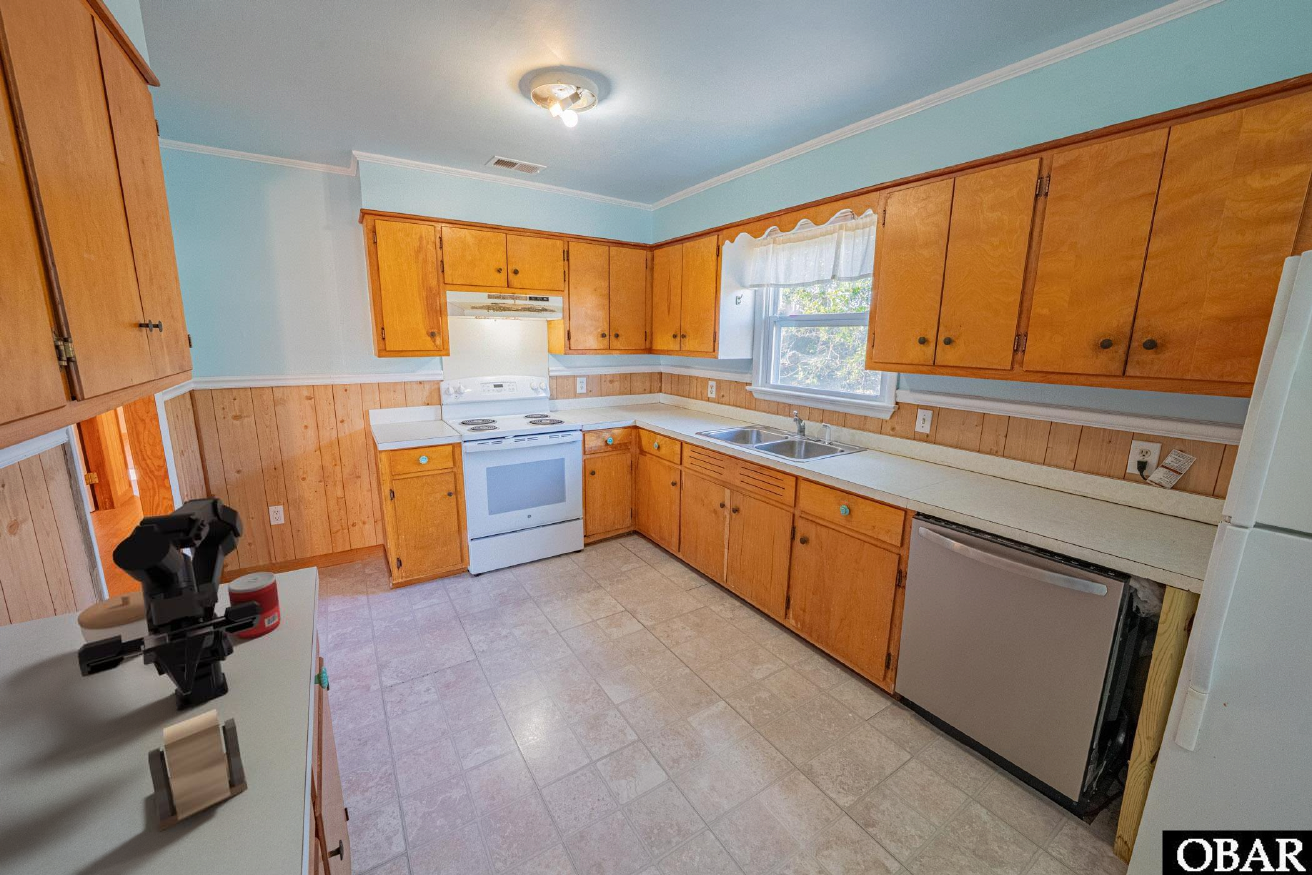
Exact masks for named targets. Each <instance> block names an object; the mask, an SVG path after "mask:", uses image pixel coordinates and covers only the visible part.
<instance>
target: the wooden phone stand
mask: <svg viewBox="0 0 1312 875" xmlns="http://www.w3.org/2000/svg"><path fill="white" fill-rule="evenodd" d="M223 723H224V725H222V726H221V730H222V734H223V742H224V748H225V749H224V750H225V752H224V758H225V764H226V770H227V776H228V783H229V789H230V796H228V797H226V798H224V799H221V800H219V801H217V802H215V803H213V804H211V805H209V806H207V807H205V808H203V809H201V810H199V811H197V812H195V813H193V814H190V815H188V816H186V817H184V818H182V819H180V820H178V815H177V810H176V805H175V799H174V794H173V789H172V784H171V778H170V775H169V770H168V764H167V759H166V754H165V749H163V750H161V749H160V747H156V748H154V749H151V750H149V751H147V757H148V759H147V760H148V767H149V771H150V777H151V781H152V782H151V783H152V786H153V790H154V797H155V801H156V805H157V806H156V808H157V824H158V829H159V832H162V831H164V830H165V829H168V828H170V827H172V826H174V825H176V824H178V823H179V822H181V821H184V820H186V819H188V818H190V817H192V816H195V815H196V814H199V813H201V812H202V811H205V810H207V809H209V808H211V807H213V806H215V805H217V804H219V803H221V802H223V801H225V800H227V799H229V798H231V797H233V796H235V795H238V794H240V793H242V792H244V791H246V790H248V782H247V778H246V774H245V770H244V765H243V761H242V758H241V750H240V744H239V737H238V731H237V726H236V725H237V724H236V721H235V717H231V718H229V719H227V720H224V722H223Z"/></svg>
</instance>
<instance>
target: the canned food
mask: <svg viewBox="0 0 1312 875" xmlns="http://www.w3.org/2000/svg"><path fill="white" fill-rule="evenodd" d="M277 584H278V583H277V577H276V575H275V574H274V573H273V572H269V571H260V572H252V573H248V574H246V575H242V576H240V577H238V578H235V579H234V580H232V581H231V582H229V583H228V585H227V591H228V598H229V599H228V600H229V603H230V606H234V605H238V604H242V603H246V602H250V601H255V602H257V603H259V605H260V609H261V614H262V615H261V618H260V621H259V623H258V626H256V627H254V628H252V629H248V630H245V631H242V632H238V633H235V635H236V637H237V638H240V639H255V638H259V637H261V636H262V637H263V636H265V635H267V634H269V633H271V632H273V631H274V630H275V629H277V628H278V627H279V626H280V623H281V619H282V617H281V610H280V609H281V608H280V603H279V602H280V601H279V593H278V592H279V591H278V585H277ZM230 606H229V607H230Z"/></svg>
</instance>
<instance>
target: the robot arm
mask: <svg viewBox="0 0 1312 875" xmlns="http://www.w3.org/2000/svg"><path fill="white" fill-rule="evenodd" d="M243 533H244V526H243V521H242V519H241V517H240V514H239V512H238V511H237V510H236V509H234V508H231V507H230V506H227V505H225V504H223V501H222V499H221V498H220V497H215V496H214V497H213V496H212V497H203V498H192V499H188V501H183V505H181V506H179V507H178V508H176V509H175V510H174V511H173V510H172V512H171V513H169V514H161V515H151V516H146V517H145V516H144V517H143V518H142V519H140V521H139V524H137V525H136V526H135V527H134V529H133V530H132V532H131V533H130V535H129V536H127V537H126V538H125V539H123V540H121V541H120V543H118V544H117V545H116V548H115V549H114V550H113V552H112V561H113V562H114V564H115V565H116V566H117V567H118V568H119V569H121V570H122V571H123V572H124V573H126V574H127V575H128V576H130V578H132V579H133V580H135V581H137V582H139V583H140V584H141V590H142V593H143V600H144V607H145V613H146V620H147V627H148V634H149V636H146V637H142V638H138V639H134V640H131V641H127V642H123V643H122V638H121V635H118V636H115V637H111V638H107V639H103V640H99V641H95V642H91V643H84V644H82V646H81V647H80V648H79V649H78V650H77V660H78V667H79V670H80V674H81V677H83V678H84V677H90V676H91V677H92V676H94V675H97V674H100V673H105V672H108V671H110V670H114V669H117V668H118V667H119V666H120V665H121V664H122V663H123V662H124V661H125V658H124V657H125V656H128V655H132V654H135V653H139V652H141V655H142V657H143V658H142V659H143V660H142V661H143V665H144V666H148V665H151V664H154V667H155V669H156V672H157V674H158V675H159V676H163V675H167V676H168V677H169V679H170V680H171V682H172V683H173V684H174V685H175V687H176V688H175V689H174V695H175V706H176V710H177V711H181V710H185V709H186V708H189V707H192V706H195V705H197V704H201V703H202V702H205V701H207V700H210V699H213V698H216V697H217V698H218V697H219V696H221V695H224V694H227V693H228V692H229V685H228V682H227V678H226V675H225V672H223V671H222V666H221V665H222V663H221V662H224V661H227V659H228V658H227V657H229V656H230V655H233V654H234V652H235V650H234V644H233V640H232V638H231V635H234V634H235V633H238V632H242V631H245V630H248V629H252V628H254V627H256V626H258V623H259V621H260V618H261V615H262V614H261V609H260V605H259V603H257V602H255V601H250V602H246V603H242V604H238V605H234V606H227V607H225V610H224V613H223V615H221V616H218V614H217V613H216V612H215V607H216V604H218V603H219V595H218V592H219V587H220V583H221V577H222V572H223V566H224V561H225V558H226V557H227V556H228V555H230V554H231V553H232V552H234V551H235V550H236V549H237V548H238V544H239V540H240V537H241V538H242V537H243V535H244V534H243ZM184 549H189V551H190V553H191V555H192V557H191V556H190V555H188V554H187V553H184V552H182V551H181V550H184ZM235 635H236V634H235Z"/></svg>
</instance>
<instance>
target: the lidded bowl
mask: <svg viewBox="0 0 1312 875" xmlns="http://www.w3.org/2000/svg"><path fill="white" fill-rule="evenodd" d="M77 623H78V625H79V627H80V631H81V634H82V638H83V639H84V641H85V642H86V643H85V644H87V643H91V642H95V641H99V640H103V639H107V638H111V637H115V636H118V635H121V638H122V643H123V642H127V641H131V640H134V639H138V638H142V637H146V636H149V634H148V627H147V620H146V613H145V607H144V600H143V593H142V589H141V590H136V591H131V592H127V593H121V594H119V595H118V594H117V595H115V596H113V597H109V598H107V599H104V600H101V601H98V602H97V603H95V604H92V605H89V607H87V608H85V609H84V610H83V611H82V612H80V613H79V615H78V617H77ZM138 655H142V653H141V652H139V653H135V654H132V655H128V656H125V657H124V659H125V658H131V657H135V656H138Z"/></svg>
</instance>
